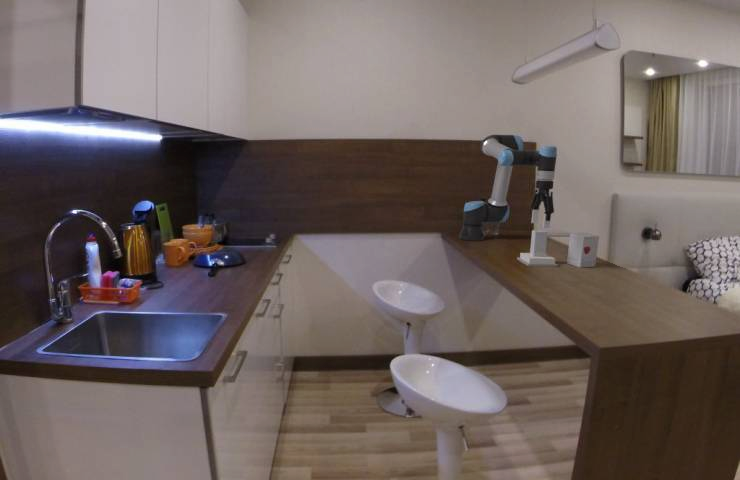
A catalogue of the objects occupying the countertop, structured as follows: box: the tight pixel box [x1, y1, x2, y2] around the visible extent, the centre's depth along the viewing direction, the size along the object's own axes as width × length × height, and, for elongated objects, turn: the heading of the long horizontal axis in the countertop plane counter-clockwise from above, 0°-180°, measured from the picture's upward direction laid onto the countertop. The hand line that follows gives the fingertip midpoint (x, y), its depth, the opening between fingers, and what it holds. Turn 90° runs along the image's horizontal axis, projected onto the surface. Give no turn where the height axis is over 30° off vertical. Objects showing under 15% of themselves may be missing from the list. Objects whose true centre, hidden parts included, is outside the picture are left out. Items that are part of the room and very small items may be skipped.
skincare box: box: [529, 230, 549, 256], centre depth 202 cm, size 6×4×12 cm
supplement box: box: [566, 232, 600, 268], centre depth 200 cm, size 9×9×15 cm
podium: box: [516, 252, 559, 268], centre depth 203 cm, size 14×14×4 cm
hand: (540, 225), depth 201 cm, fingers open, 13 cm apart
